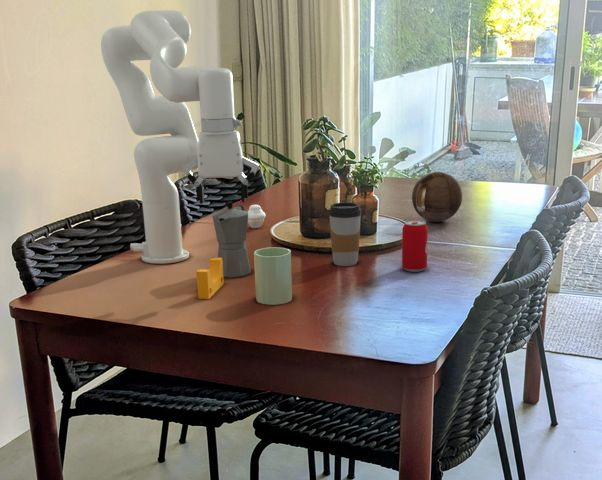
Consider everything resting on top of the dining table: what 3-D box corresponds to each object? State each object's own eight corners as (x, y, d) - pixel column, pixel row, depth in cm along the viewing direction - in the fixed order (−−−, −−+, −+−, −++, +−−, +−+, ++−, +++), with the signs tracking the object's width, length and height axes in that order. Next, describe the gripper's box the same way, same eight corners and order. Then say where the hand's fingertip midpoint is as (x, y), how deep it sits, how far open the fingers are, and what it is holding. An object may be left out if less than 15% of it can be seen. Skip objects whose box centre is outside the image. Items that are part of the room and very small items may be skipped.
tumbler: (254, 305, 192) (252, 257, 188) (257, 293, 200) (255, 247, 196) (291, 304, 192) (290, 256, 188) (292, 293, 200) (291, 247, 196)
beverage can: (429, 266, 217) (430, 219, 213) (424, 273, 212) (425, 225, 208) (404, 265, 219) (405, 218, 215) (399, 271, 214) (399, 224, 210)
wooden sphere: (446, 214, 273) (448, 166, 267) (470, 224, 259) (472, 173, 254) (403, 218, 268) (404, 170, 263) (424, 228, 255) (426, 177, 250)
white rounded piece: (242, 228, 261) (241, 205, 258) (251, 224, 266) (249, 201, 264) (261, 229, 259) (260, 206, 256) (269, 225, 264) (268, 202, 261)
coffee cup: (327, 259, 226) (326, 202, 221) (359, 258, 227) (359, 201, 221) (331, 268, 219) (330, 209, 213) (363, 266, 219) (363, 208, 214)
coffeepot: (241, 281, 210) (237, 207, 203) (205, 278, 212) (200, 206, 206) (263, 264, 223) (260, 195, 217) (229, 262, 226) (225, 193, 220)
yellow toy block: (206, 283, 209) (204, 257, 207) (223, 283, 208) (222, 257, 206) (190, 298, 198) (188, 271, 196) (209, 299, 197) (207, 271, 195)
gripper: (257, 123, 197) (260, 197, 203) (181, 125, 197) (187, 200, 203) (256, 126, 190) (259, 204, 196) (177, 129, 190) (183, 206, 196)
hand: (222, 202), depth 199 cm, fingers open, 9 cm apart
